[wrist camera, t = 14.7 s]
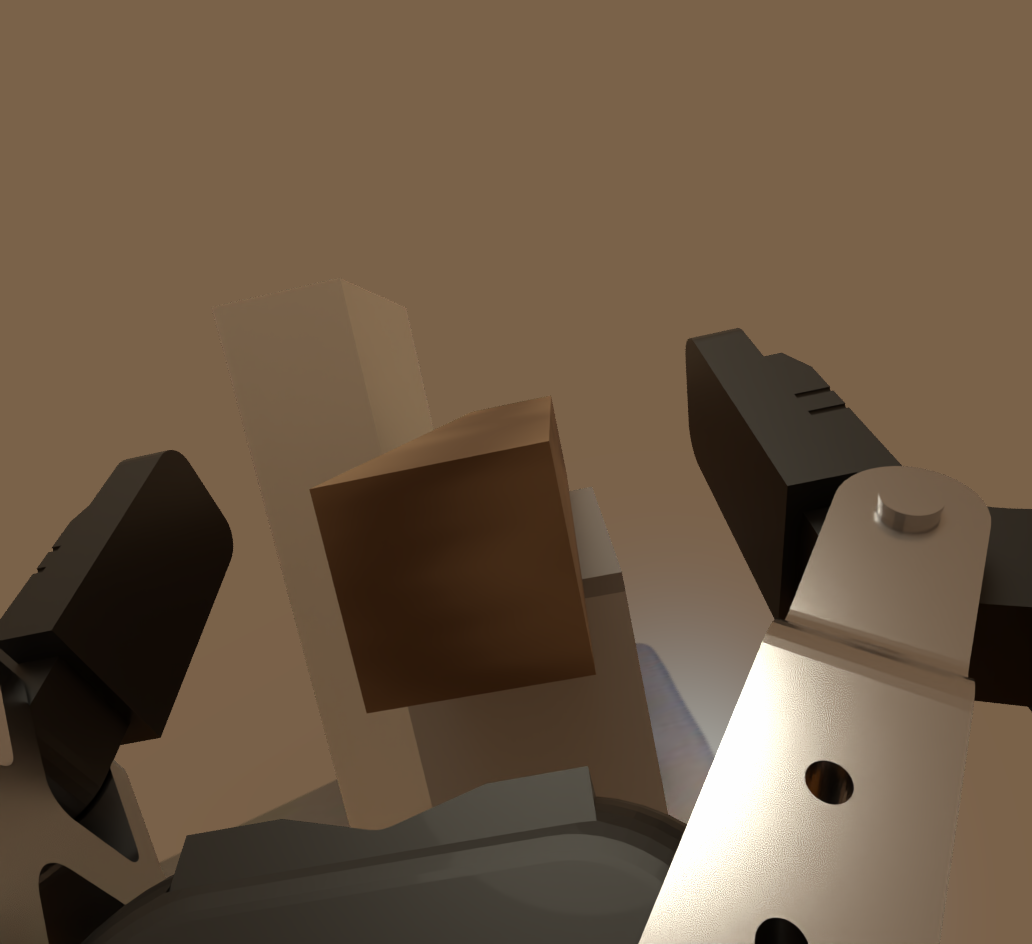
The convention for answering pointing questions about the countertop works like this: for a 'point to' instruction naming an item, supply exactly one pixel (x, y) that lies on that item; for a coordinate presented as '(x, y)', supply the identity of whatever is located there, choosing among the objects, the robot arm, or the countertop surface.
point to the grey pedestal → (556, 704)
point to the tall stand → (313, 460)
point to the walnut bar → (459, 561)
